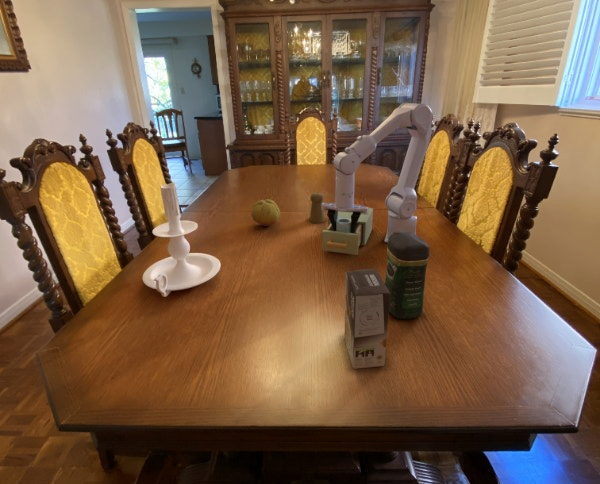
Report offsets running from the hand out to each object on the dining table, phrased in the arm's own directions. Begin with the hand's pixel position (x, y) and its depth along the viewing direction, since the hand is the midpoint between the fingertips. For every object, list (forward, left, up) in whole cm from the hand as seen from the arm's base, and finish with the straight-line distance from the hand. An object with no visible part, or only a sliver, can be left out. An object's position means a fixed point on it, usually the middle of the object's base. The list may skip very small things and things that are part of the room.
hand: (343, 232), depth 111 cm
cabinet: (0, -11, -5) cm, 12 cm away
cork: (+16, -22, -6) cm, 28 cm away
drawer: (0, +1, -5) cm, 5 cm away
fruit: (+33, -11, -6) cm, 35 cm away
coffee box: (-15, +45, -6) cm, 48 cm away
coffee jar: (-21, +28, -6) cm, 36 cm away
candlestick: (+37, +35, -6) cm, 51 cm away
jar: (0, 0, -1) cm, 1 cm away
